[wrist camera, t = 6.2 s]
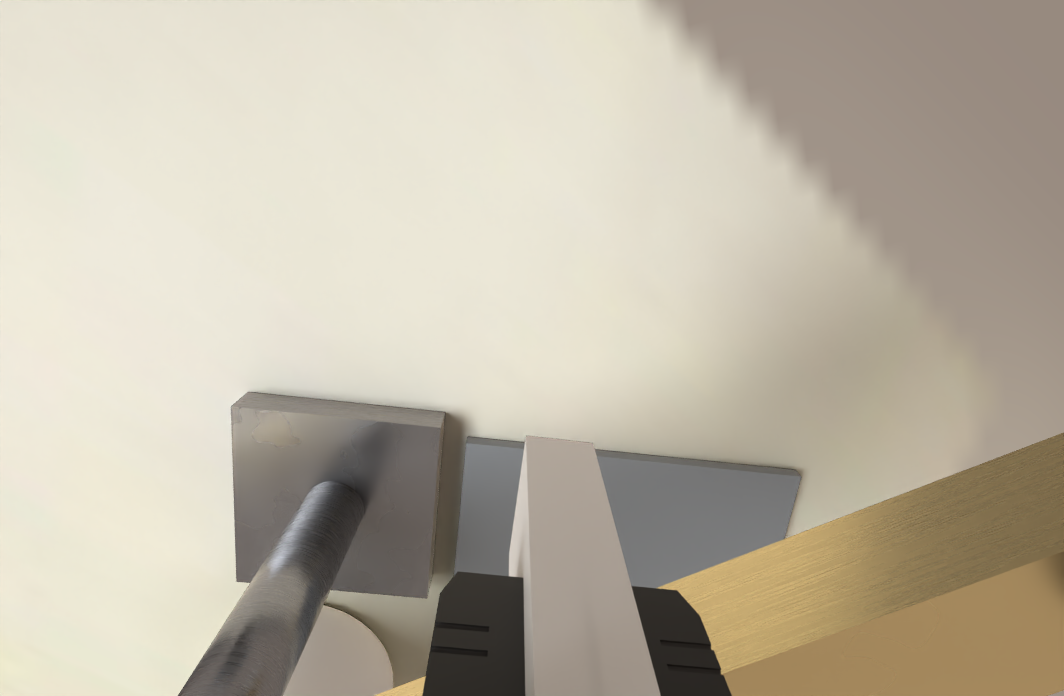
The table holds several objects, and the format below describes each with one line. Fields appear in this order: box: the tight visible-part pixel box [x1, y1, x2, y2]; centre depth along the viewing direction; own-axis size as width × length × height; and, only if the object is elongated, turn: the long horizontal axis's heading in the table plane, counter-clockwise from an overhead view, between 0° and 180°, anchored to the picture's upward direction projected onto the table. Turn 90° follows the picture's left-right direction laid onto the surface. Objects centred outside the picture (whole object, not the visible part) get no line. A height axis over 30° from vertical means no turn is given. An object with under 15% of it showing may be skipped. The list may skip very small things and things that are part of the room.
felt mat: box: [454, 437, 801, 588], centre depth 28 cm, size 18×14×1 cm
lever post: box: [178, 392, 445, 696], centre depth 20 cm, size 8×8×14 cm
